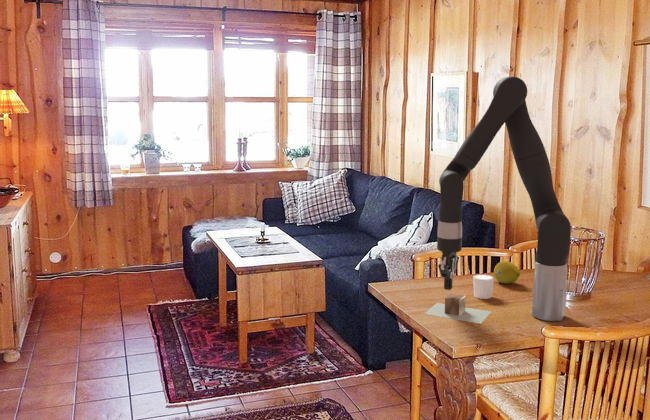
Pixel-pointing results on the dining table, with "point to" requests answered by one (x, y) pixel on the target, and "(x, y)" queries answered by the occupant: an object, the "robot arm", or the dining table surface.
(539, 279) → the robot arm
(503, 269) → the lemon
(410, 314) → the dining table surface
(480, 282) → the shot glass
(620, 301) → the dining table surface
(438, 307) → the rubber mat
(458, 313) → the copper block
